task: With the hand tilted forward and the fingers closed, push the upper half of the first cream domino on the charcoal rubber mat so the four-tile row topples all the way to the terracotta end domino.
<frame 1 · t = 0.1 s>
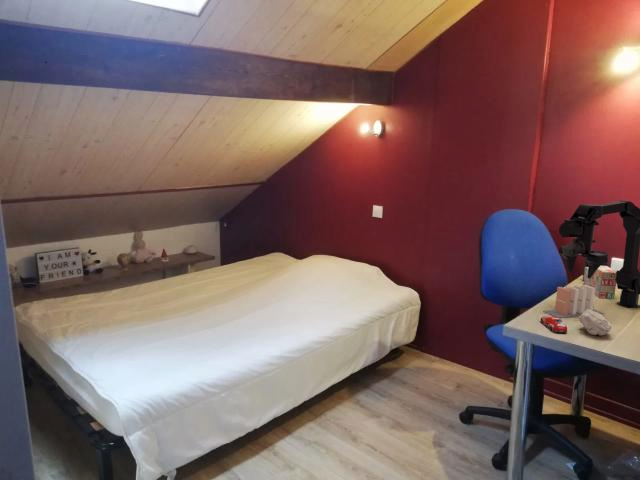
hand: (579, 275, 188), 15 cm above the table, tool pointing down, fingers open, 9 cm apart
race car: (553, 328, 172), on the table
domino mat: (573, 312, 188), on the table
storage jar: (593, 282, 235), on the table
fossil replica: (593, 333, 167), on the table
stack of blocks: (597, 292, 218), on the table
domino 1: (585, 310, 190), resting on domino mat
domino 2: (577, 311, 188), resting on domino mat
domino 4: (561, 313, 186), resting on domino mat
domino 3: (569, 312, 187), resting on domino mat
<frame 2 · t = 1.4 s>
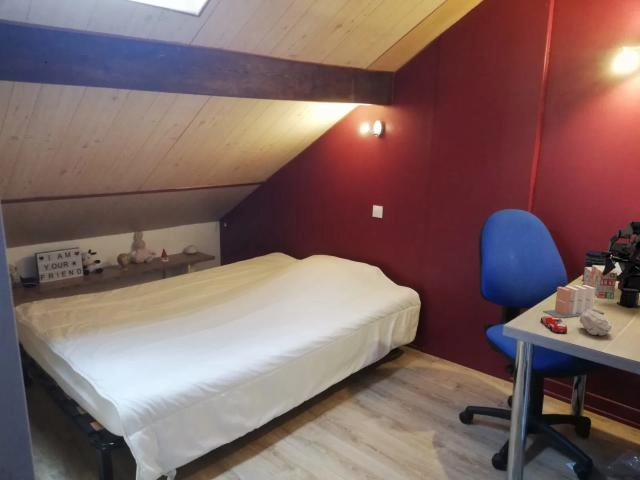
hand: (610, 277, 190), 14 cm above the table, tool tilted 45°, fingers open, 6 cm apart
nothing on the table moved.
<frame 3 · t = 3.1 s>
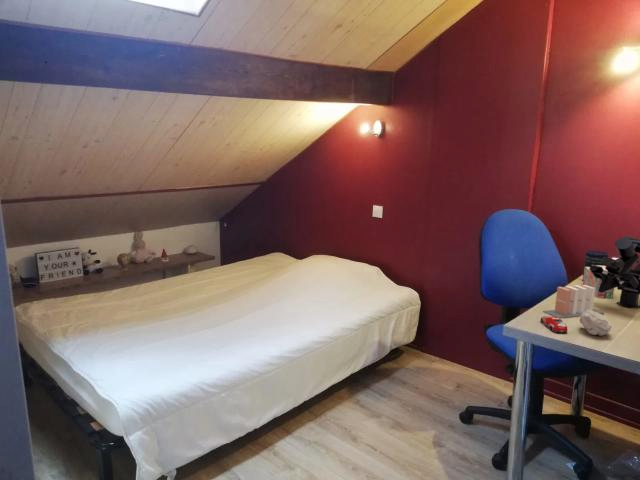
hand: (599, 291, 190), 8 cm above the table, tool tilted 45°, fingers closed
nothing on the table moved.
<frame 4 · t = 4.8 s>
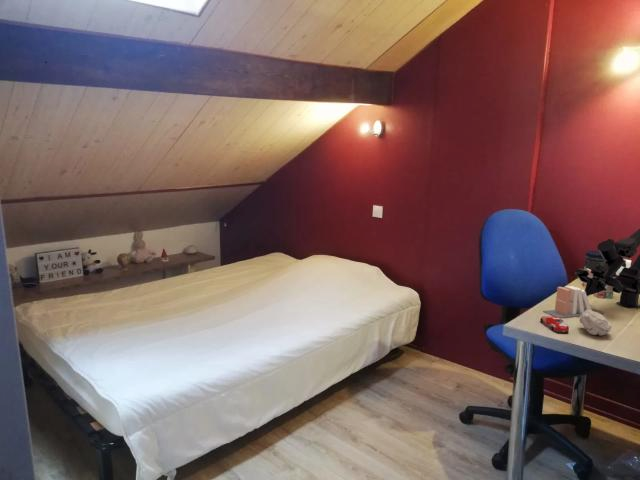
hand: (584, 295, 188), 7 cm above the table, tool tilted 45°, fingers closed
domino 1: (585, 309, 189), point 1 cm above the table, tilted 29°, touching domino mat
domino 2: (577, 310, 188), point 1 cm above the table, tilted 16°, touching domino mat
everything else where it was.
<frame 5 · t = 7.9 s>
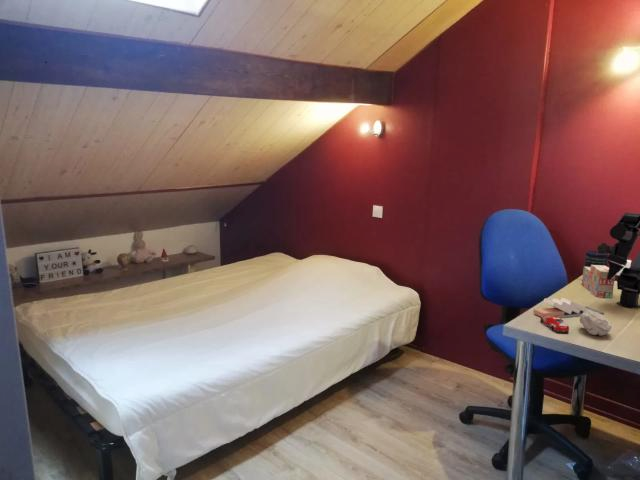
hand: (608, 279, 192), 12 cm above the table, tool tilted 20°, fingers closed
domino 1: (582, 309, 189), point 1 cm above the table, tilted 66°, touching domino 2, domino mat
domino 2: (574, 310, 188), point 1 cm above the table, tilted 65°, touching domino 1, domino 3, domino mat
domino 4: (559, 311, 186), point 1 cm above the table, tilted 90°, touching domino 3, domino mat
domino 3: (566, 310, 187), point 1 cm above the table, tilted 65°, touching domino 2, domino 4
everything else where it was.
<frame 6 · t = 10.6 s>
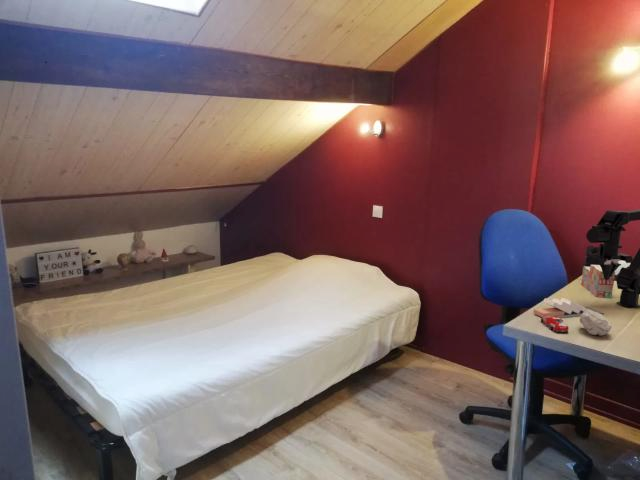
hand: (606, 279, 193), 12 cm above the table, tool pointing down, fingers closed
at the end: domino 4 tilted 90°; domino 2 tilted 65°; domino 4 inside the target area (3.5 cm from its centre), point 1.2 cm above the table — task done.
